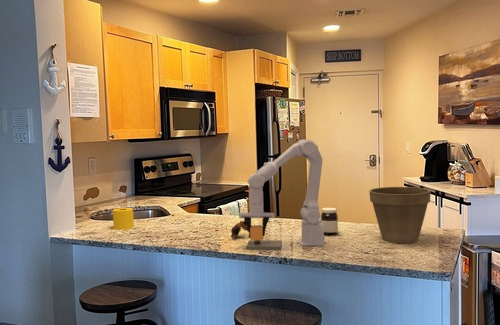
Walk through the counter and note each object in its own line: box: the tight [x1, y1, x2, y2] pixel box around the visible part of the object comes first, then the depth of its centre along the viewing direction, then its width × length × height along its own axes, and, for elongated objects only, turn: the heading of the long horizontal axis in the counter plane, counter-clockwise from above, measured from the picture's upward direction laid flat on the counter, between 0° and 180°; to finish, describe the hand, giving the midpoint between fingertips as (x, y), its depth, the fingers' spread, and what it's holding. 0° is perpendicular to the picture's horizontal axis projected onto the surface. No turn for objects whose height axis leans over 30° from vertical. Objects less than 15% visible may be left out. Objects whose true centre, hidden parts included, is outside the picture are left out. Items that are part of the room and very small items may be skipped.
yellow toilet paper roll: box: [112, 207, 135, 231], centre depth 234 cm, size 10×10×9 cm
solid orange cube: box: [249, 224, 265, 240], centre depth 190 cm, size 5×5×5 cm
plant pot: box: [368, 186, 431, 244], centre depth 196 cm, size 25×25×22 cm
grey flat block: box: [245, 239, 283, 251], centre depth 190 cm, size 14×10×5 cm
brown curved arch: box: [230, 220, 251, 239], centre depth 207 cm, size 12×10×8 cm
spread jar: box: [319, 207, 339, 237], centre depth 211 cm, size 12×11×12 cm
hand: (257, 235), depth 190 cm, fingers closed on solid orange cube, 5 cm apart
